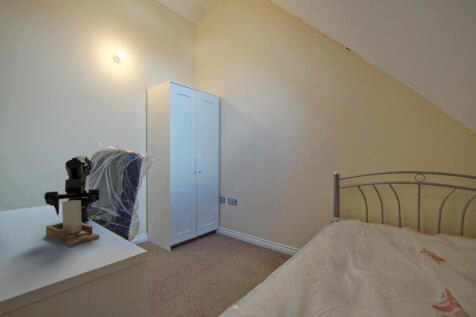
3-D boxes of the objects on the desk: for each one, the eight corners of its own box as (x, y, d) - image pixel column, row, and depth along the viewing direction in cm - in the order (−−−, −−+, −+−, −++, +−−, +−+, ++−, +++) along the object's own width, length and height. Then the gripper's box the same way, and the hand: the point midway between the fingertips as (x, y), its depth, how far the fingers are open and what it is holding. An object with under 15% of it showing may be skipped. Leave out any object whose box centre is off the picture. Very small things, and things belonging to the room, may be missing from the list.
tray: (73, 228, 98) (73, 219, 98) (99, 237, 88) (99, 228, 88) (46, 235, 89) (46, 226, 89) (70, 247, 79) (70, 236, 79)
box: (82, 230, 90) (82, 200, 90) (72, 234, 86) (72, 202, 86) (71, 229, 91) (71, 199, 91) (61, 233, 87) (61, 202, 87)
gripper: (45, 172, 87) (37, 205, 78) (99, 171, 97) (98, 199, 87) (50, 188, 94) (43, 220, 85) (100, 185, 104) (99, 214, 94)
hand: (71, 213), depth 88 cm, fingers open, 9 cm apart
